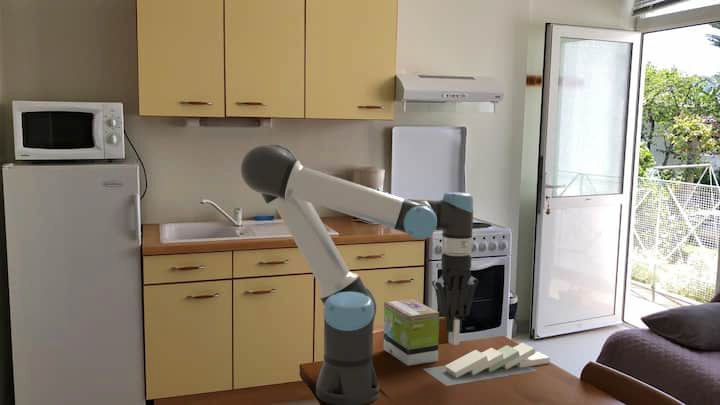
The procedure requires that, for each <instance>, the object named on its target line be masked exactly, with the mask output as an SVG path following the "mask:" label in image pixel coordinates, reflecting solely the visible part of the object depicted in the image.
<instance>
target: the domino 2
mask: <svg viewBox="0 0 720 405" xmlns="http://www.w3.org/2000/svg"><path fill="white" fill-rule="evenodd" d="M497 350H498V349H497ZM497 350H496V349H495V348H493V347H490V348H487V349H486V350H484V351H482V352H481V353H482V354H484V355H486V356H487V359H488V362H486V363H484V364H482V365H480V366H478V367H476V368H474V369H472V370H471V371H469V373H471V374H472V375H475V374H477V373H478V372H480V371H482V370H484V369H486V368H488V367H490V366H492V365H493V364H495V363H497V362H499V361H501V360H503V359H504V357H503V354H502V353H501V352H499V351H497Z"/></svg>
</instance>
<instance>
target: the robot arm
mask: <svg viewBox="0 0 720 405" xmlns="http://www.w3.org/2000/svg"><path fill="white" fill-rule="evenodd" d="M240 173H241V177H242V180H243V181H244V183H245V185H247V186H248V188H250V189H251V190H252V191H254V192H257V193H259V194H261V196H262V198H263V200H264V201H265V203H266V205H267V206H269V207H271V208H272V207H273V208H275V209H276V211H277V213H278V214H279V216H280V218H281V219H282V221H283V223H284V225H285V226H286V228H287V230H288V232H289V233H290V235H291V237H292V239H293V241H294V242H295V245H296V246H297V248H298V249H299V251H300V252H301V253H300V254H301V255H302V256H303V258H304V260H305V262H306V264H307V265H308V267H309V269H310V270H311V273H312V274H313V277H314V279H316V281H317V284H318V285H319V287H320V293H319V299H320V300H321V302H322V305H323V306H324V308H323V318H324V319H323V321H324V322H323V324H324V325H323V327H324V328H323V363H322V366H321V368H320V371H319V374H318V377H317V380H316V385H315V394H316V397H317V398H318V399H319V400H320V401H322V402H324V403H326V404H330V405H366V404H370V403H372V402H374V401H375V400H377V398H378V397H379V394H380V383H379V379H378V377H377V374H376V370H375V367H374V364H373V347H374V346H373V342H374V340H373V337H374V336H373V335H374V325H375V324H374V323H375V318H376V314H377V303H376V299H375V296H374V295H373V292H372V291H371V290H370V289H369V288H367V287H366V285H365V284H364V283H363V281H362V279H361V277H360V276H359V274H358V273H355V272H351V270H349V268H348V266H347V264H346V262H345V260H344V259H343V257H342V255H341V253H340V252H339V250H338V248H337V246H336V245H335V243H334V241H333V239H332V237H331V236H330V234H329V232H328V230H327V228H326V227H325V225H324V223H323V222H322V219H321V218H320V216H319V214H318V213H317V211H316V208H315V207H314V205H317V206H319V207H324V208H326V209H329V210H333V211H336V212H339V213H342V214H345V215H349V216H352V217H355V218H358V219H361V220H365V221H368V222H371V223H373V224H377V225H380V226H384V227H387V228H390V229H393V230H396V231H399V232H402V233H405V234H407V235H409V236H410V237H411V238H414V239H416V240H424V239H428V238H429V237H431V236H432V235H433V234H434V232H435V231H439V230H442V233H441V234H442V238H441V252H443V253H442V254H441V272H440V276H439V278H438V279H437V280H432V282H431V285H432V286H433V288H434V291H435V295H436V301H437V306H438V312H439V316H441V317H442V318H445V319H446V326H445V327H446V331H447V332H448V341H447V342H448V343H449V344H451V345H453V346H459V345H460V332H462V329H463V320H465V318H466V316H467V317H469V315H470V312H471V309H472V304H473V299H474V294H475V292H476V291H475V290H476V288H477V286H478V285H479V282H480V280H479V279H477V278H475V277H474V276H472V273H471V269H472V254H471V253H472V252H473V251H472V249H473V248H472V246H473V245H472V244H473V226H474V197H473V196H472V194H470V193H467V192H459V191H457V192H455V191H454V192H445V193H443V196H442V197H443V198H442V199H440V200H439V199H438V200H432V199H431V200H428V199H411V198H408V199H405V198H402V197H400V196H396V195H393V194H389V193H387V192H384V191H382V190H381V191H380V190H377V189H374V188H370V187H367V186H365V185H362V184H358V183H356V182H352V181H348V180H347V179H343V178H340V177H337V176H334V175H330V174H328V173H324V172H321V171H318V170H314V169H312V168H308V167H306V166H303V164H301V161H300V160H298V158H297V156H296V155H295V154H294V153H293V152H292V151H291V150H290V149H288V148H287V147H286V146H285V147H284V146H282V145H280V144H269V145H259V146H256V147H253V148H251V149H250V150H249V151H248V152H247V153H246V154H245V155H244V156H243V158H242V161H241V165H240ZM444 287H445V288H444ZM445 292H446V293H445Z"/></svg>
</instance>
